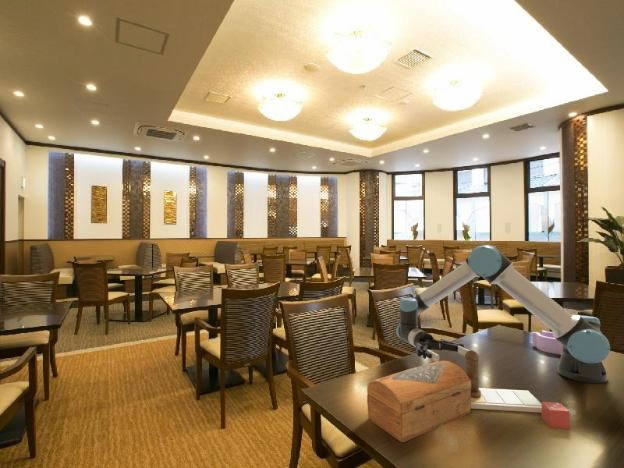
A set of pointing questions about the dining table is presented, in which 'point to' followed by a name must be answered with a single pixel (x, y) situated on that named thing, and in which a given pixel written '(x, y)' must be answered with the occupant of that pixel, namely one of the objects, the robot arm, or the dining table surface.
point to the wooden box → (419, 399)
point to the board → (506, 400)
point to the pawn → (473, 372)
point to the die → (555, 415)
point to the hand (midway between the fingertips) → (454, 357)
